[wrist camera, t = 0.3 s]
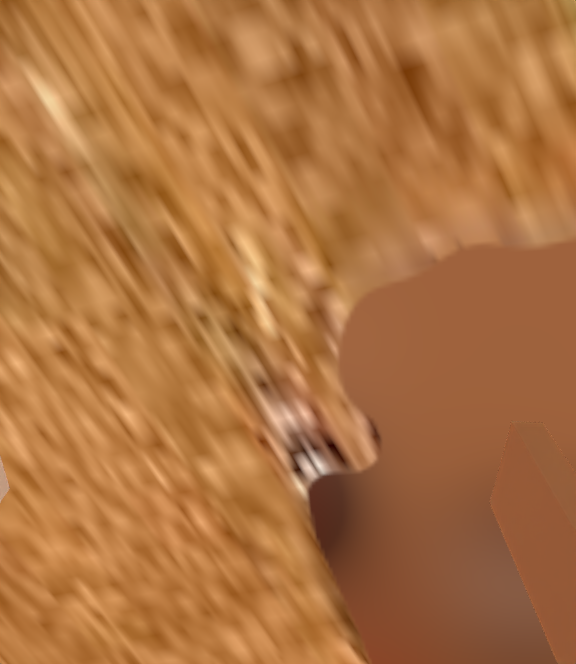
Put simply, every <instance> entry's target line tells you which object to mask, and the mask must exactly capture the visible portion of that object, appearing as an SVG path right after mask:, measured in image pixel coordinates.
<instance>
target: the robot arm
mask: <svg viewBox="0 0 576 664" xmlns="http://www.w3.org/2000/svg"><path fill="white" fill-rule="evenodd" d="M9 488H10V487H9V484H8V481H7V477H6V474H5V471H4V467H3V464H2V461H1V457H0V502H1V500H2V499H3V497H4V496H5V494H6V493H7V491H8V490H9ZM490 506H491V508H492V510H493V513H494V515H495V517H496V519H497V522H498V525H499V527H500V529H501V531H502V534H503V536H504V538H505V541H506V543H507V546H508V548H509V550H510V553H511V555H512V558H513V560H514V562H515V565H516V567H517V569H518V572H519V574H520V576H521V579H522V581H523V583H524V586H525V588H526V591H527V593H528V595H529V597H530V600H531V602H532V605H533V607H534V610H535V611H536V614H537V617H538V619H539V621H540V624H541V626H542V628H543V631H544V633H545V635H546V638H547V640H548V643H549V645H550V647H551V649H552V652H553V654H554V657H555V659H556V661H557V664H576V472H575V471H574V469H573V468H572V466H571V465H570V463H569V462H568V460H567V459H566V457H565V456H564V454H563V453H562V451H561V450H560V448H559V446H558V445H557V444H556V442H555V440H554V439H553V437H552V436H551V434H550V433H549V432H548V430H547V429H546V427H545V425H544V424H543V423H542V422H513V421H512V422H511V426H510V430H509V433H508V437H507V440H506V444H505V448H504V451H503V455H502V459H501V463H500V467H499V470H498V474H497V477H496V481H495V485H494V488H493V492H492V496H491V499H490Z"/></svg>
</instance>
